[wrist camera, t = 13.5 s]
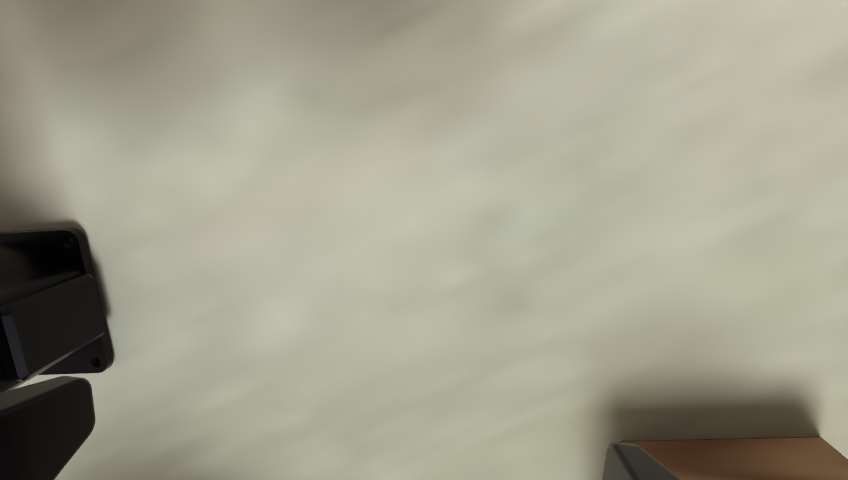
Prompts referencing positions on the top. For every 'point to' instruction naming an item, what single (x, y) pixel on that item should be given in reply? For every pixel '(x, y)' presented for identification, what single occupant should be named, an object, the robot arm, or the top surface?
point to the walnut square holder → (749, 459)
